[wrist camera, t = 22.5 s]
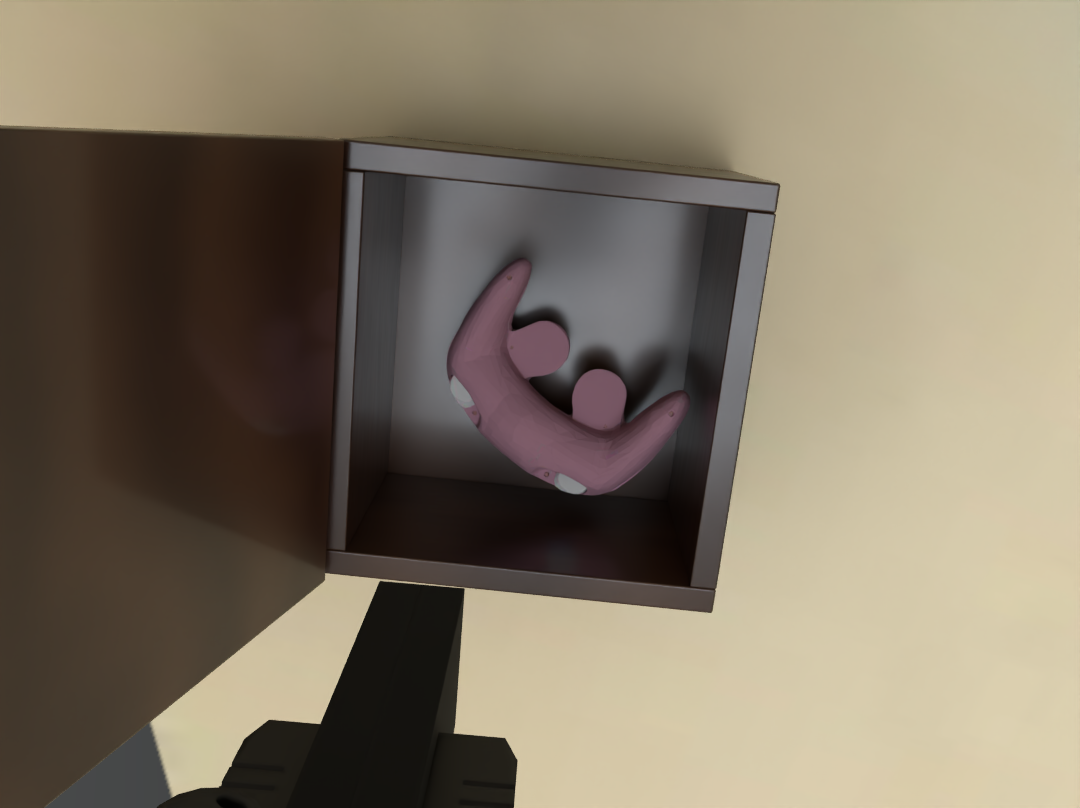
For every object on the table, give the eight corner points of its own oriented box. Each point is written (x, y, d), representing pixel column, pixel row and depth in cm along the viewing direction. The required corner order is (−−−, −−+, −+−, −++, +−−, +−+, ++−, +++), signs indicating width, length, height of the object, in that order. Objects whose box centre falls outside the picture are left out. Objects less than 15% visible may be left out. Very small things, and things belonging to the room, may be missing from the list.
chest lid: (-59, 126, 18) (-269, 100, 20) (-15, 856, 23) (-190, 796, 24) (345, 139, 33) (209, 124, 34) (325, 580, 37) (205, 552, 39)
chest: (733, 171, 43) (781, 183, 34) (683, 515, 47) (712, 613, 38) (388, 135, 43) (336, 138, 34) (369, 482, 47) (318, 573, 38)
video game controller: (523, 257, 44) (423, 378, 45) (511, 245, 40) (400, 380, 40) (695, 401, 44) (592, 522, 44) (703, 406, 39) (588, 540, 40)
